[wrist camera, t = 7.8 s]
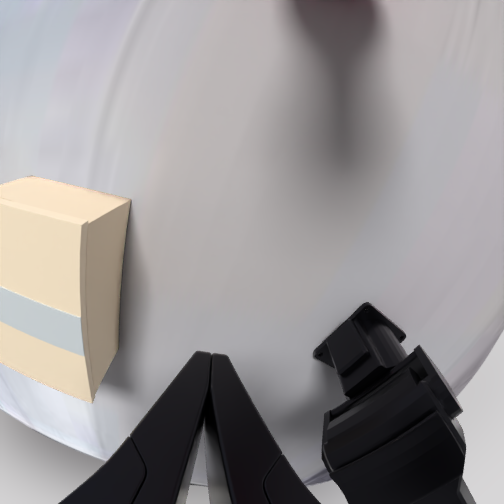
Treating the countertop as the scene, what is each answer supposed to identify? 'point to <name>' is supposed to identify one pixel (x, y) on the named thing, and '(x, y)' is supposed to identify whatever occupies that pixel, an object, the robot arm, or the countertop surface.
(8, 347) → the lid
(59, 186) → the carton
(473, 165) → the countertop surface
